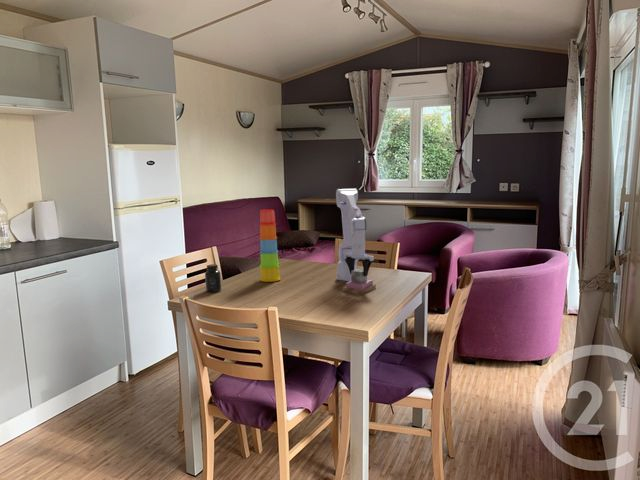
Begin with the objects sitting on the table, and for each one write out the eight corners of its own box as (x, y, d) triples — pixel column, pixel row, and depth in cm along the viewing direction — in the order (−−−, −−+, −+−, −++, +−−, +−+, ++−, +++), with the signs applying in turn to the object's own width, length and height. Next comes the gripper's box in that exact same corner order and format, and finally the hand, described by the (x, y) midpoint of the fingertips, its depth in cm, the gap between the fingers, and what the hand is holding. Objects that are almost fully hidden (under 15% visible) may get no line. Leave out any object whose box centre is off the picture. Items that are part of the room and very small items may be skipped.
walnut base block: (342, 292, 217) (342, 287, 217) (357, 286, 226) (357, 281, 226) (361, 296, 211) (361, 290, 211) (375, 289, 220) (375, 284, 220)
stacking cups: (256, 281, 237) (253, 210, 231) (266, 276, 246) (263, 208, 240) (275, 283, 233) (272, 211, 227) (284, 278, 242) (282, 209, 236)
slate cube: (351, 281, 218) (351, 270, 217) (357, 279, 222) (357, 268, 221) (360, 283, 215) (360, 272, 214) (366, 280, 219) (366, 270, 218)
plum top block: (346, 287, 216) (346, 283, 216) (357, 282, 224) (357, 278, 224) (361, 289, 212) (361, 285, 212) (372, 284, 220) (372, 280, 220)
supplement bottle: (224, 289, 224) (222, 264, 222) (216, 293, 218) (214, 267, 216) (211, 288, 226) (209, 263, 224) (203, 292, 220) (201, 266, 218)
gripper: (339, 244, 216) (340, 274, 219) (367, 247, 208) (367, 278, 210) (348, 242, 222) (349, 271, 224) (376, 245, 213) (376, 275, 215)
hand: (358, 274), depth 218 cm, fingers open, 7 cm apart
